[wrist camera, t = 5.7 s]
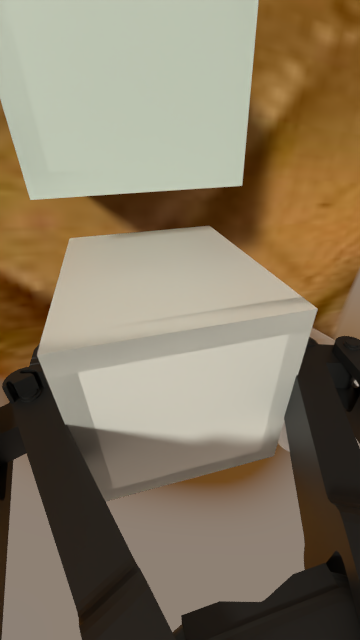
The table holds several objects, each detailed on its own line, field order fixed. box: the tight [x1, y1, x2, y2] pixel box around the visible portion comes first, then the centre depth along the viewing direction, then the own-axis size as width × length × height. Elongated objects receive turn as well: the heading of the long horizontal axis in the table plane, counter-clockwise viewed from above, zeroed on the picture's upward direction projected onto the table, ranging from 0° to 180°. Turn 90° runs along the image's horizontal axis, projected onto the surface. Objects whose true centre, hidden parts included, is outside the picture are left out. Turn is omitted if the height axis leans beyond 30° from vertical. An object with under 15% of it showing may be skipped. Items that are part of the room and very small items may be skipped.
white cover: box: [37, 226, 317, 502], centre depth 14 cm, size 8×8×10 cm
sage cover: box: [0, 0, 258, 200], centre depth 12 cm, size 8×8×10 cm
